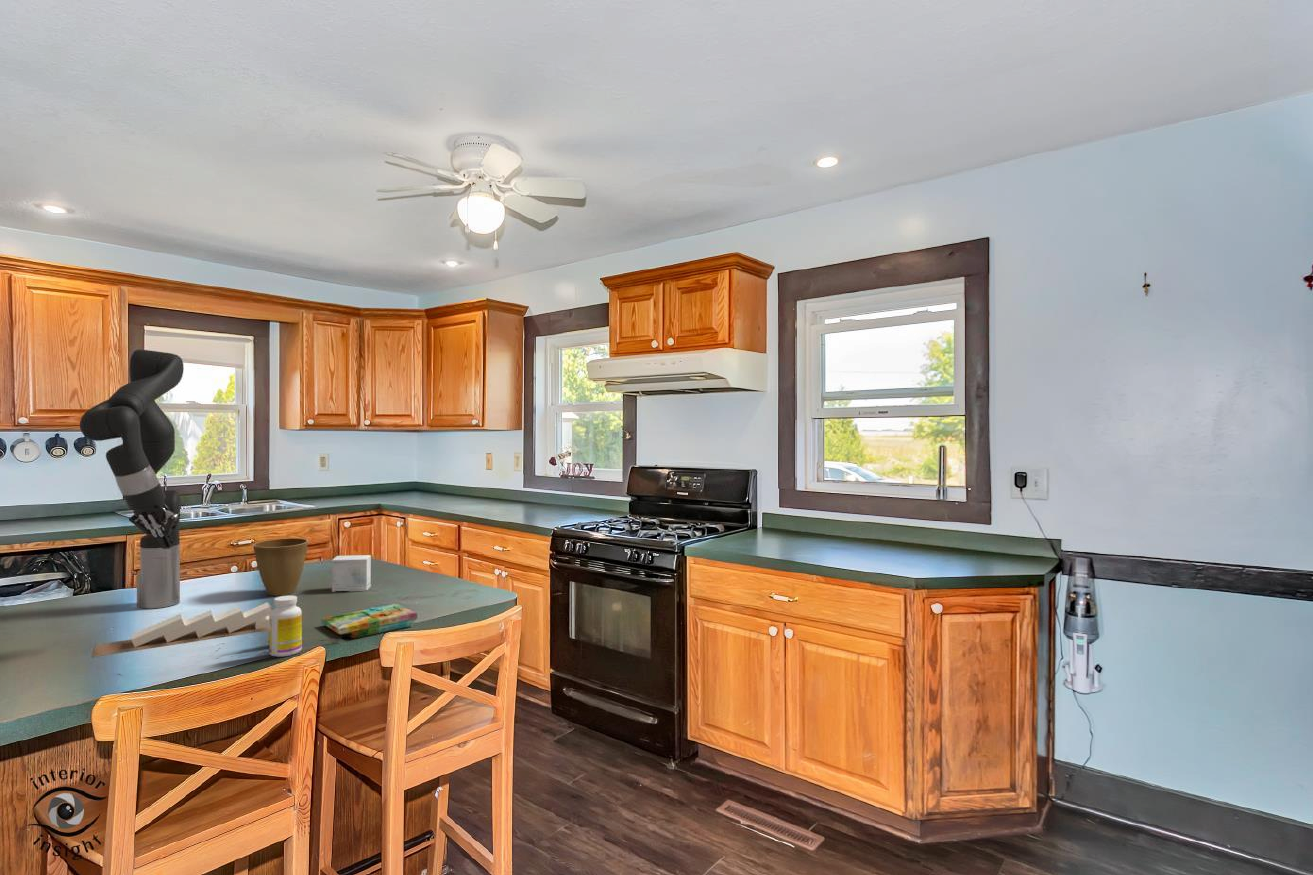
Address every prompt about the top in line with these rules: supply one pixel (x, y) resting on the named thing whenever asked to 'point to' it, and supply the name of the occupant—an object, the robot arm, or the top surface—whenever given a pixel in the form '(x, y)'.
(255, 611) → the domino
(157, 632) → the domino
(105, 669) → the top surface
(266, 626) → the domino
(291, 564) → the plant pot
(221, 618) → the domino
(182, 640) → the domino board
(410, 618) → the puzzle game
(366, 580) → the skincare box
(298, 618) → the supplement bottle
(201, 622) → the domino
